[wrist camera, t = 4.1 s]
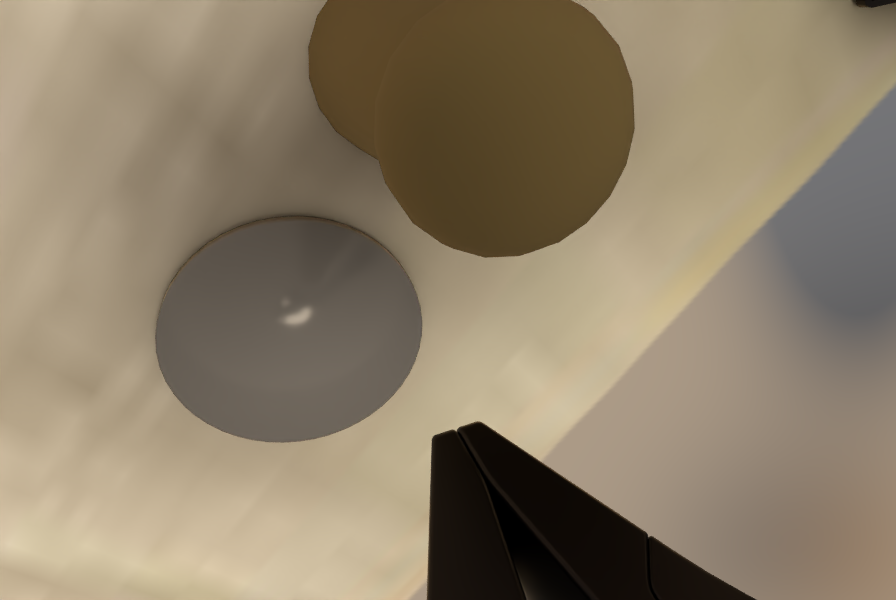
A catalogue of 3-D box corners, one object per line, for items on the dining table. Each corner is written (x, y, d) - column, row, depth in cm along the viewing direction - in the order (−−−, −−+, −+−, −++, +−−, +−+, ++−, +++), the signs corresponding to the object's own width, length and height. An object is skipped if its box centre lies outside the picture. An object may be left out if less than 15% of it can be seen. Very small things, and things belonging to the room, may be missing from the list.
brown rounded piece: (359, 185, 21) (449, 351, 12) (271, 14, 17) (301, 57, 8) (506, 111, 21) (706, 217, 12) (447, -71, 18) (663, -118, 9)
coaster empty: (394, 187, 21) (397, 192, 21) (434, 391, 26) (438, 399, 26) (108, 257, 19) (105, 264, 19) (213, 461, 25) (213, 472, 24)
